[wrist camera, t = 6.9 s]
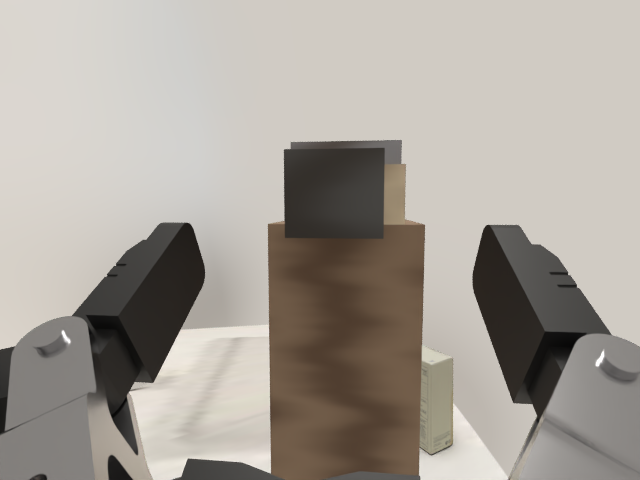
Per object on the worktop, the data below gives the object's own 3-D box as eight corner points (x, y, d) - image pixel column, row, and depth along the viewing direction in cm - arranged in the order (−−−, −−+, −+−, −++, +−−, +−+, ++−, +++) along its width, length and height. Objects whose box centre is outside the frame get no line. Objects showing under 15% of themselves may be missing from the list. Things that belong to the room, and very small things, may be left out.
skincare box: (453, 445, 50) (456, 357, 49) (430, 456, 48) (432, 365, 46) (419, 422, 55) (421, 342, 54) (396, 431, 53) (398, 348, 52)
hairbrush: (230, 237, 11) (227, 89, 10) (307, 219, 27) (307, 160, 27) (442, 239, 10) (446, 81, 10) (390, 219, 27) (391, 159, 26)
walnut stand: (274, 744, 22) (268, 224, 19) (296, 602, 30) (294, 219, 27) (411, 764, 21) (425, 224, 19) (397, 613, 29) (405, 219, 26)
